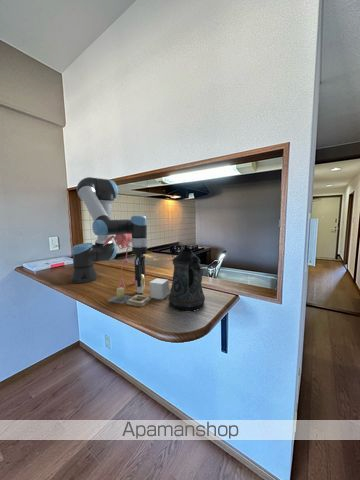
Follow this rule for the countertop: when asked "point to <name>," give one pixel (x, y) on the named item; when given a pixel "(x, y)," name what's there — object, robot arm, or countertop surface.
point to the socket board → (139, 303)
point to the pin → (142, 284)
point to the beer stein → (186, 283)
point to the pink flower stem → (123, 241)
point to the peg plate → (120, 296)
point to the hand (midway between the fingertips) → (140, 290)
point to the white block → (159, 288)
